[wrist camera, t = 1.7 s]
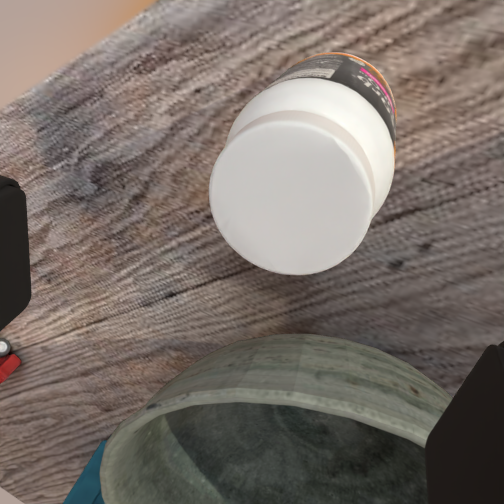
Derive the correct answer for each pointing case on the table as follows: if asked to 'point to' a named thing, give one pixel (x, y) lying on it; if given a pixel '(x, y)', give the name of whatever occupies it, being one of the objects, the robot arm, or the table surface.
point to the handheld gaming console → (88, 482)
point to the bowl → (279, 429)
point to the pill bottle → (307, 165)
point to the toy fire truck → (7, 360)
